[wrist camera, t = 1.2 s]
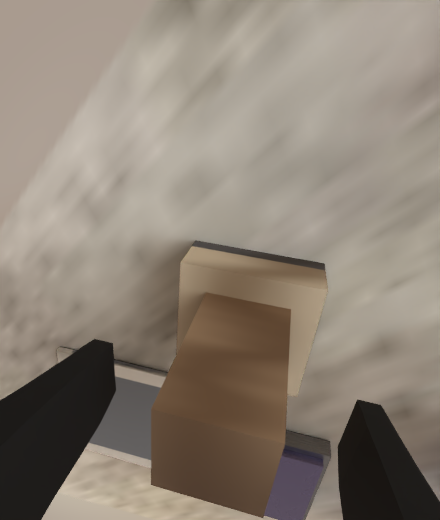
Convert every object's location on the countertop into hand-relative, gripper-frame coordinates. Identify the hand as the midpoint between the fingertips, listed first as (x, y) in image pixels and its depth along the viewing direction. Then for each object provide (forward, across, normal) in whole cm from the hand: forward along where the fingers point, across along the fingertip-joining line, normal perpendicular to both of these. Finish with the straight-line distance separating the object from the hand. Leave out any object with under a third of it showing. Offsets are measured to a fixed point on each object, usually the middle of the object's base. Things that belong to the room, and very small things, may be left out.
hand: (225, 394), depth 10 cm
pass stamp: (+5, 0, 0) cm, 5 cm away
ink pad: (+5, -2, +10) cm, 11 cm away
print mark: (+5, +5, +9) cm, 12 cm away
